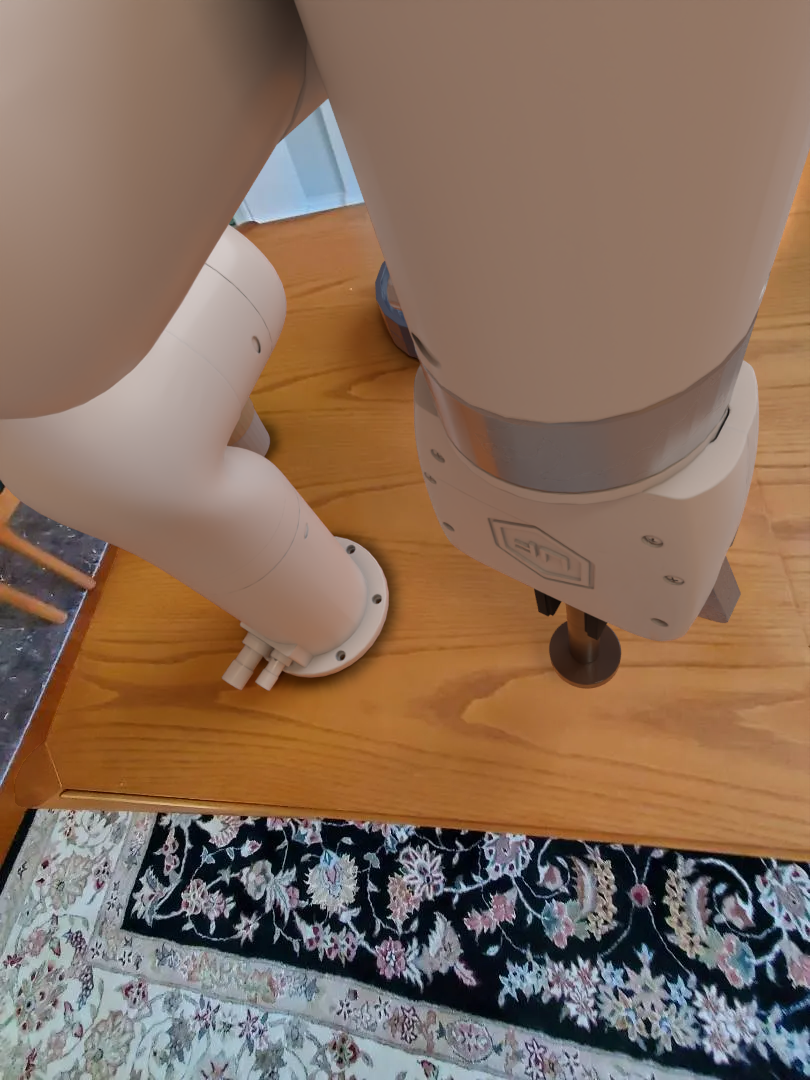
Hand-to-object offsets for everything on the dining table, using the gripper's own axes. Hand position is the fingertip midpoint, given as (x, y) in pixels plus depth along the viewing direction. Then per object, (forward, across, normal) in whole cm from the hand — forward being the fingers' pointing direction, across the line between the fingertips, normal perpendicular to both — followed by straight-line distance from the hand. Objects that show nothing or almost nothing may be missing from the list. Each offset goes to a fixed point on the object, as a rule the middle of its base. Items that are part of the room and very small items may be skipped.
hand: (582, 600), depth 31 cm
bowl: (+17, -28, +29) cm, 44 cm away
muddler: (+11, 0, 0) cm, 11 cm away
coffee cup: (+17, -40, +5) cm, 44 cm away
